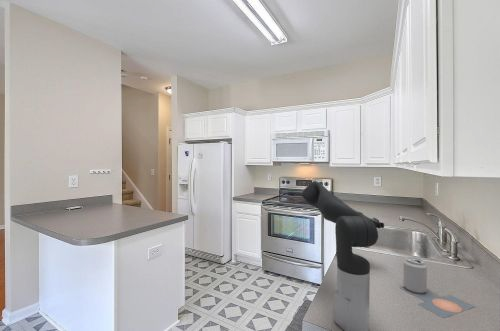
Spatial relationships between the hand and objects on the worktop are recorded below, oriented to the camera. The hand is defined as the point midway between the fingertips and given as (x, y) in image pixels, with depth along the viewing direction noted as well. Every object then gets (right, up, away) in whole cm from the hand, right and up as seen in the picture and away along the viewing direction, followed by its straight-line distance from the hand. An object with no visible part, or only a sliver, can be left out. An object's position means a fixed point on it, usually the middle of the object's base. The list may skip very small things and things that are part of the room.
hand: (381, 225), depth 105 cm
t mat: (+8, -22, -18) cm, 30 cm away
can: (+6, -22, -13) cm, 26 cm away
